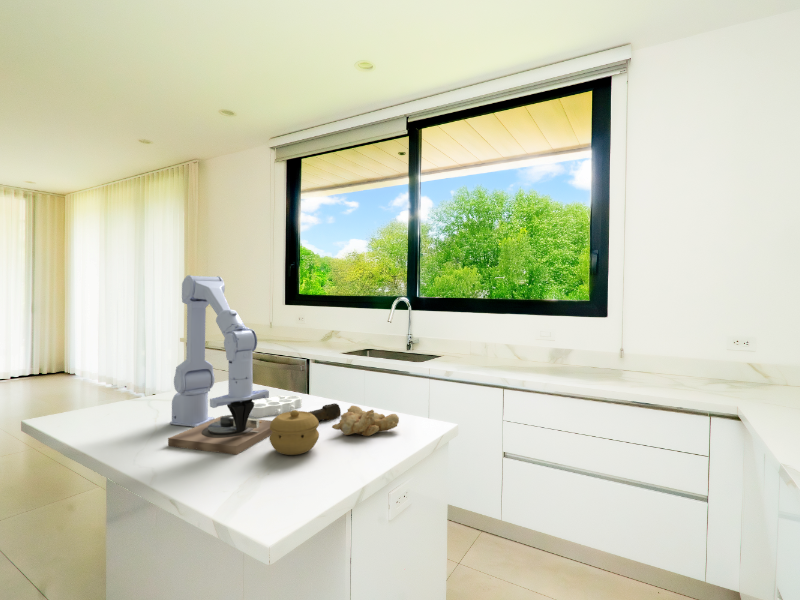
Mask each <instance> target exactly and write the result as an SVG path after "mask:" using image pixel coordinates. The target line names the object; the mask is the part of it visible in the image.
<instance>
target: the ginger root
mask: <svg viewBox="0 0 800 600" xmlns="http://www.w3.org/2000/svg"><path fill="white" fill-rule="evenodd" d="M399 419H400V417H399V416H398V414H396V413H391V414H388V415H387V416H385V414H383V413H378V412H375V410H374V409H370V410H367V411H365V410H363V409H362V408H361V407H360V406H357V405H351V406H349V407H348V408H347V412H344V413H343V414H341V415H340V420H339V422H338V423H335V424H332V426H331V428H332V429H333V430H337V431H338V430H340V432H342V434H344V435H345V436H349V435H353V434H358V435H362V436H365V437H370V436H372V435H374V434H376V433H378V432H384V431H385V432H387V431H390V430H392V429H394V428H396V427H398V424H399V423H400V421H399Z"/></svg>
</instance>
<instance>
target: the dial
mask: <svg viewBox="0 0 800 600" xmlns="http://www.w3.org/2000/svg"><path fill="white" fill-rule="evenodd" d="M221 416H222V417H221ZM221 416H220V417H221V418H220V421H217V422H214V423H212V424H210V425H209V426H208V432H209V433H211V434H217V435H224V434H233V433H238V432H239V431H237V430H236V425H235V422H234V419H233V416H232V414H227V415H226V414H225V415H221ZM259 420H260V419H258V418H249V417H248V420H247V423H246V427H245V430H246V429H247V428H258V427H259Z"/></svg>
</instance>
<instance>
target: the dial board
mask: <svg viewBox="0 0 800 600" xmlns="http://www.w3.org/2000/svg"><path fill="white" fill-rule="evenodd" d="M222 416H223V415H221V416H218V417H216V418H215V419H213V420H211V421H209V422H206V423H204V424H201V425H199V426H196V427H192V428H190V429H186V430H185V431H182V432H180V433H177V434H175V435H173V436H170V437H168V438H167V446H168V447H173V448H180V449H181V448H182V449H187V448H188V449H189V450H196V451H204V452H212V453H220V454H221V453H222V454H228V455H235V456H237V455H239V454H241V453H242V452H244V451H246V450H247V449H249V448H251V447H253V446H254V445H256V444H258V443H260V442H261V441H263V440H264V439H266V438H268V437H270V435H271V434H272V431H271V430H270V424H271V422H272V420H268V419H267V420H266V419H259V427H258V428H247V429H246V430H245V431H242V432H238V433H233V434H224V435H217V434H211V433H209V432H208V426H209V425H210V424H212V423H214V422H217V421H220V418H221V417H222Z"/></svg>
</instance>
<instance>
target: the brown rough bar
mask: <svg viewBox="0 0 800 600" xmlns="http://www.w3.org/2000/svg"><path fill="white" fill-rule="evenodd" d="M308 412H309V413H311V414H313V415H314V416H315V417H316V418H317V419H318V421H319V422H320V421H324V422H325V421H326V422H329V421H333V420H335V419H337V418H339V417H341V415H342V413H341V412H342V411H341V408H340V405H339V404H338V403H330V404H325V405H322V407H321V408H320V409H316V410H310V411H308Z"/></svg>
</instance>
